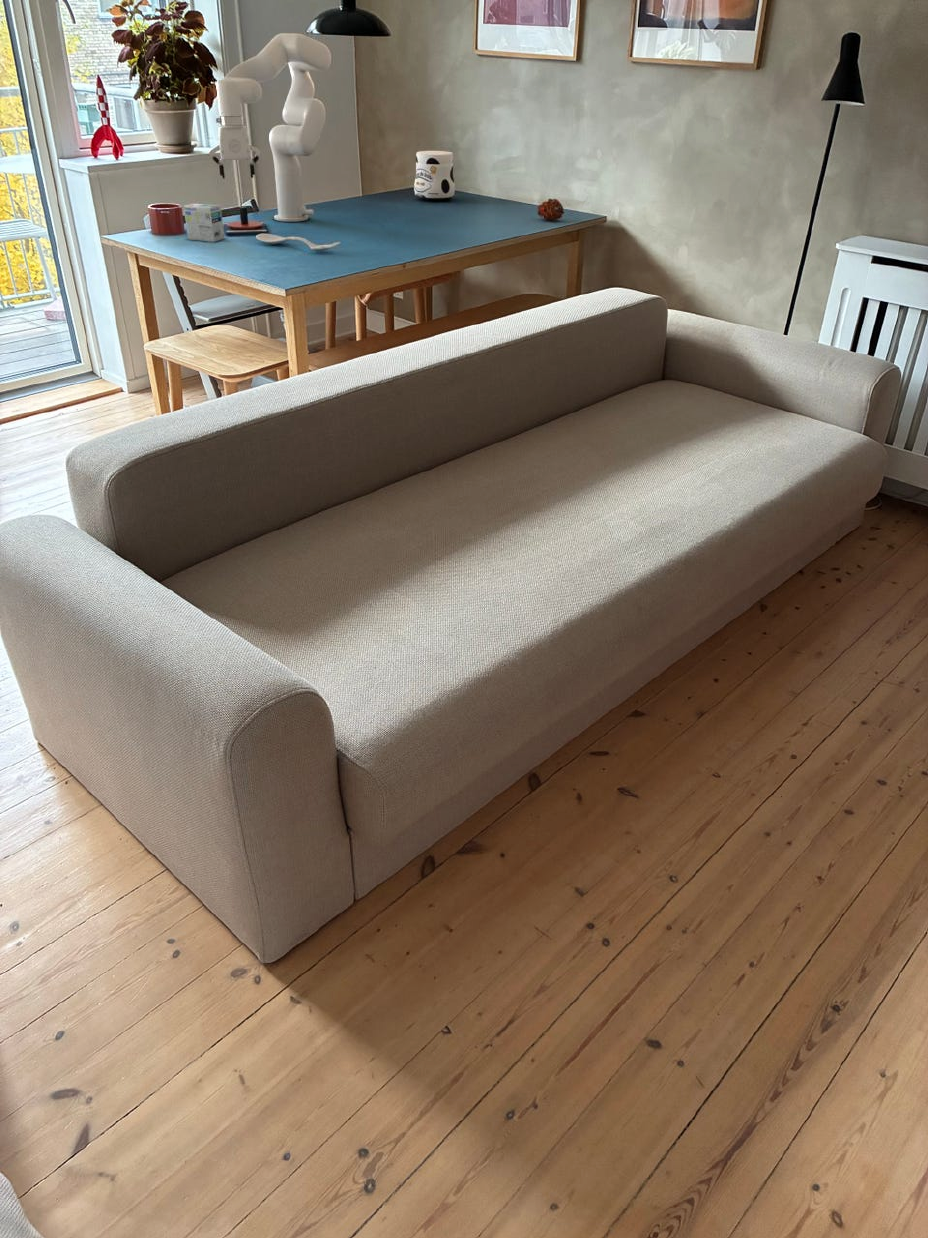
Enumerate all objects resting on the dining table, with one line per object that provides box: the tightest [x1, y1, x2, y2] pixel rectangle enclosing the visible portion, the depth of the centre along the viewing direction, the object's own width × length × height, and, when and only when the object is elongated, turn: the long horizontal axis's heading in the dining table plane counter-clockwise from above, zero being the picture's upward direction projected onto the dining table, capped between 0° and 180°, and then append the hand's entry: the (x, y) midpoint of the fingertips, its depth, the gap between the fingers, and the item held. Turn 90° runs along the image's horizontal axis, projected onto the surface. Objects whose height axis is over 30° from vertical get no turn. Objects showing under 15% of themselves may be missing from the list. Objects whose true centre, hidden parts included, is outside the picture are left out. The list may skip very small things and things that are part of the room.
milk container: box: [413, 150, 456, 202], centre depth 397 cm, size 17×17×18 cm
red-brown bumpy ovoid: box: [536, 198, 565, 222], centre depth 363 cm, size 8×8×12 cm
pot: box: [147, 202, 186, 236], centre depth 329 cm, size 11×17×8 cm
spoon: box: [255, 233, 341, 252], centre depth 311 cm, size 9×32×4 cm, turn 56°
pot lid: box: [227, 206, 262, 230], centre depth 335 cm, size 12×12×7 cm
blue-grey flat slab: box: [223, 221, 269, 237], centre depth 337 cm, size 14×20×1 cm
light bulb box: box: [183, 202, 225, 243], centre depth 319 cm, size 11×7×11 cm, turn 71°
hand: (237, 177), depth 327 cm, fingers open, 9 cm apart
